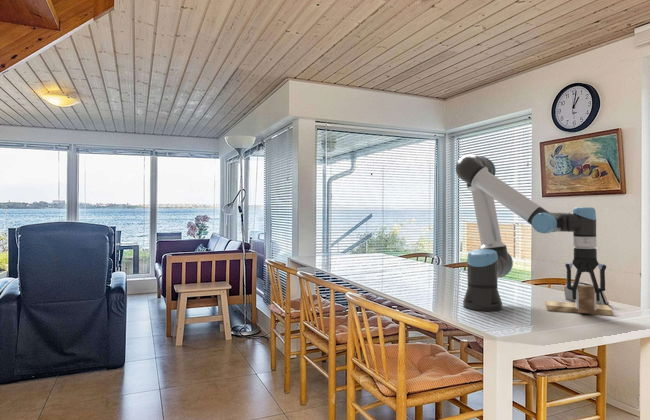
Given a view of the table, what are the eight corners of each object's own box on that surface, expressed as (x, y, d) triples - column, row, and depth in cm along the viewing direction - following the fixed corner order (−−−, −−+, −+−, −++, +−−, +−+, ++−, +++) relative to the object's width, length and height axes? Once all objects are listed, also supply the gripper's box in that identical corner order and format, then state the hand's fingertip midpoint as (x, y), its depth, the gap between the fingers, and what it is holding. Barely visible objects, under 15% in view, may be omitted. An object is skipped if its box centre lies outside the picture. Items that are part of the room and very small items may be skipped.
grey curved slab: (610, 305, 179) (605, 283, 178) (604, 310, 177) (599, 288, 176) (571, 297, 194) (566, 277, 193) (565, 302, 192) (560, 282, 191)
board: (547, 310, 170) (547, 305, 170) (545, 305, 179) (545, 300, 179) (612, 315, 162) (612, 310, 162) (607, 310, 170) (607, 305, 170)
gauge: (579, 312, 162) (578, 286, 162) (573, 304, 176) (573, 280, 176) (594, 313, 160) (594, 286, 160) (587, 305, 174) (587, 280, 174)
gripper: (559, 247, 163) (560, 309, 163) (615, 249, 156) (616, 312, 156) (557, 246, 170) (557, 305, 170) (610, 247, 163) (611, 308, 163)
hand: (585, 308), depth 163 cm, fingers closed on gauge, 5 cm apart
